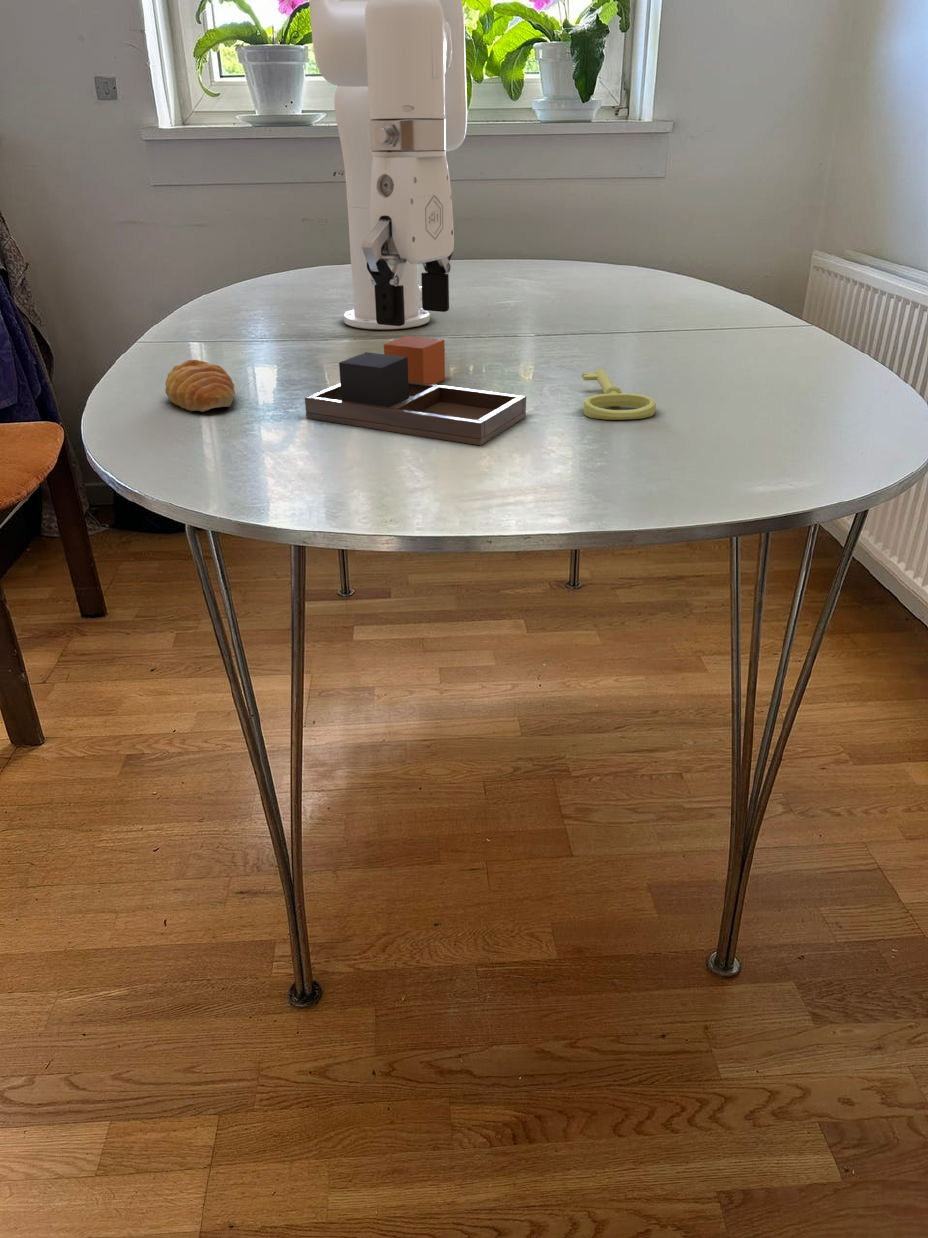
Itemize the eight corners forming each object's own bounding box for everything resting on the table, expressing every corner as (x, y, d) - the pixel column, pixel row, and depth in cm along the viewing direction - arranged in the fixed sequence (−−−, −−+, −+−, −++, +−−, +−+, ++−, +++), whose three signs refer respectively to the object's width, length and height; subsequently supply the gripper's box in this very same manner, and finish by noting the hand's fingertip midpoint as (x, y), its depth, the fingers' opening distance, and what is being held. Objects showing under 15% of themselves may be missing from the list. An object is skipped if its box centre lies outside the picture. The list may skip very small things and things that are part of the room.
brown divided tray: (361, 393, 100) (360, 374, 99) (525, 416, 92) (526, 396, 91) (306, 418, 92) (304, 397, 91) (480, 445, 84) (480, 423, 83)
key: (601, 386, 102) (602, 367, 101) (663, 416, 92) (665, 395, 91) (543, 393, 99) (544, 374, 98) (601, 425, 89) (602, 404, 88)
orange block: (407, 374, 107) (406, 335, 105) (445, 379, 105) (444, 339, 103) (385, 384, 103) (383, 343, 101) (423, 389, 101) (422, 348, 99)
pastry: (251, 409, 95) (246, 372, 93) (186, 419, 92) (180, 381, 90) (222, 389, 102) (217, 354, 100) (161, 398, 99) (155, 362, 97)
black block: (368, 395, 96) (366, 351, 94) (409, 401, 94) (407, 356, 92) (341, 407, 92) (338, 362, 90) (383, 413, 90) (381, 367, 88)
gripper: (395, 141, 84) (403, 333, 92) (479, 140, 97) (479, 307, 105) (327, 141, 87) (340, 328, 95) (418, 140, 100) (423, 303, 108)
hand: (414, 317), depth 100 cm, fingers open, 9 cm apart
